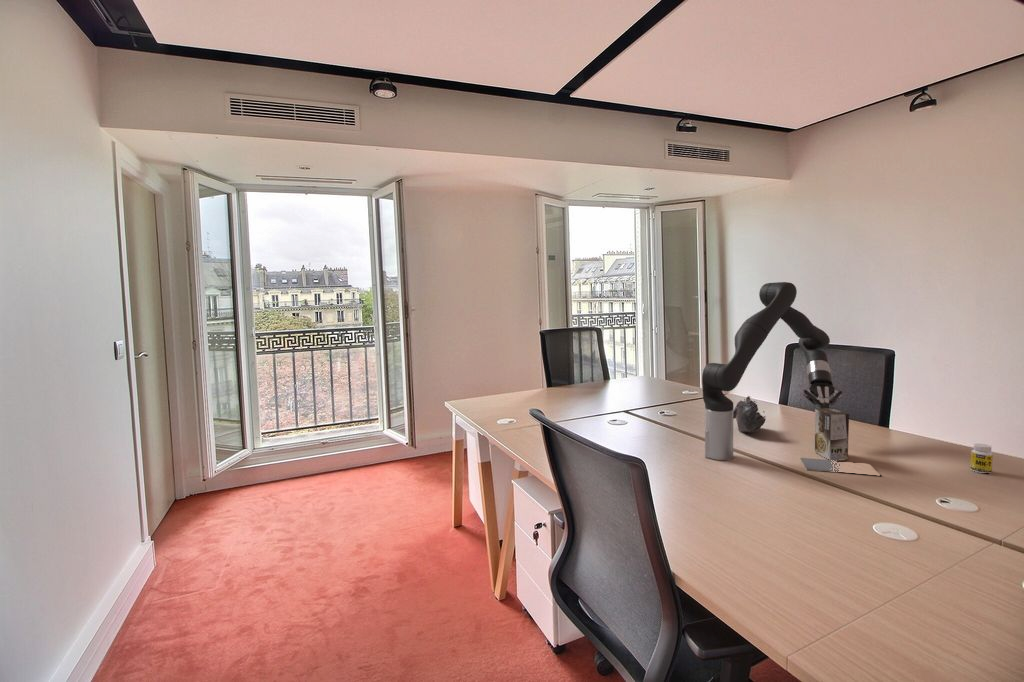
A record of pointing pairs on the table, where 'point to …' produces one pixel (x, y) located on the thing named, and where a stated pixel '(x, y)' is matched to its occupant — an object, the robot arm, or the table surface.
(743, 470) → the table surface
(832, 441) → the coffee box
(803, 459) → the grey flat sheet
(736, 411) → the dark grey lumpy sculpture
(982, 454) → the supplement bottle
